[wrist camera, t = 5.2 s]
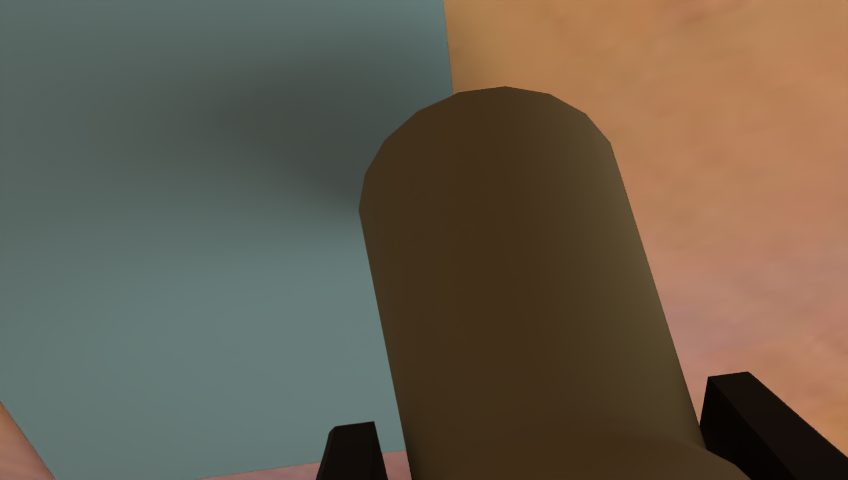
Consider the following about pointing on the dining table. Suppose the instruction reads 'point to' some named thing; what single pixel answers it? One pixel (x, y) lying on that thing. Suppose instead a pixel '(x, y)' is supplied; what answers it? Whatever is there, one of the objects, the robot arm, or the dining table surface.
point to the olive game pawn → (522, 301)
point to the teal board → (198, 226)
